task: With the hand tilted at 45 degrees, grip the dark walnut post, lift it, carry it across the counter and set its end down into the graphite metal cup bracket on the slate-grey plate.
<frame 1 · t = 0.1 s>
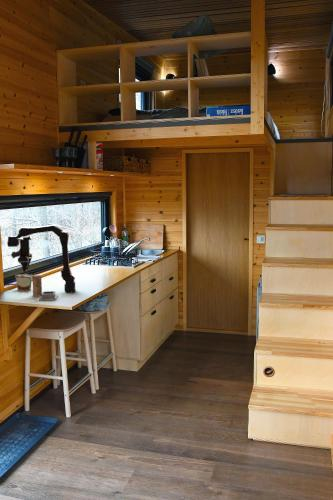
hand: (25, 270, 319), 15 cm above the table, tool pointing down, fingers open, 9 cm apart
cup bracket: (48, 298, 305), on the table
food container: (26, 289, 331), on the table
walnut post: (37, 295, 313), on the table
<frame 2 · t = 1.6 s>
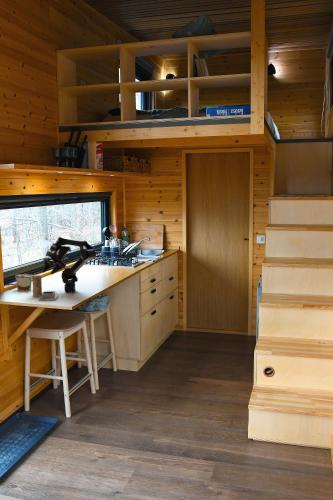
hand: (46, 273, 317), 13 cm above the table, tool tilted 45°, fingers open, 9 cm apart
nothing on the table moved.
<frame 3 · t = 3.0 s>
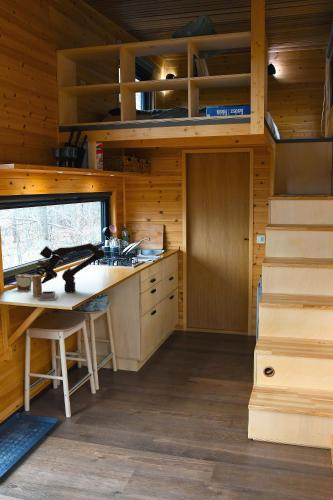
hand: (38, 282, 313), 8 cm above the table, tool tilted 45°, fingers open, 9 cm apart
nothing on the table moved.
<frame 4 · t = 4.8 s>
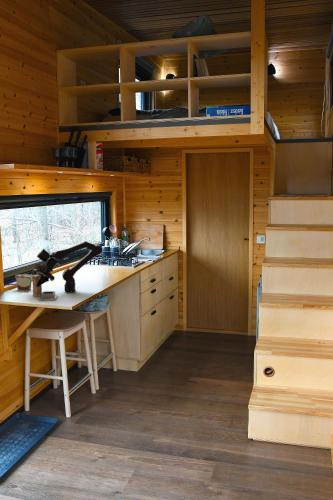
hand: (35, 285, 311), 7 cm above the table, tool tilted 45°, fingers closed on walnut post, 4 cm apart
walnut post: (37, 295, 313), on the table, touching gripper
everything else where it was.
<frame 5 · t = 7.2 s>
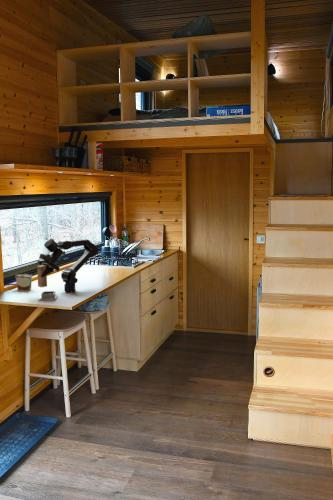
hand: (40, 276, 307), 13 cm above the table, tool tilted 45°, fingers closed on walnut post, 4 cm apart
walnut post: (42, 286, 308), point 7 cm above the table, touching gripper
everything else where it was.
when the fingers open (9 cm above the table, at t = 9.5 s): walnut post stays where it is, resting on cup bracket.
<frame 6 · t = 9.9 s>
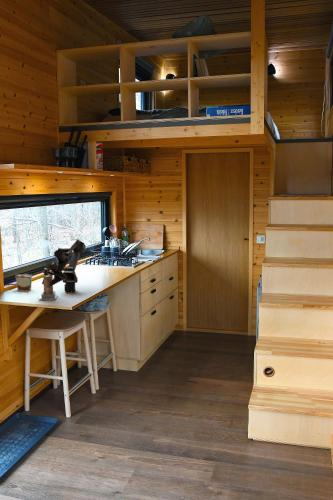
hand: (46, 285, 303), 9 cm above the table, tool tilted 45°, fingers open, 8 cm apart
walnut post: (48, 296, 305), point 1 cm above the table, touching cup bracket
everything else where it was.
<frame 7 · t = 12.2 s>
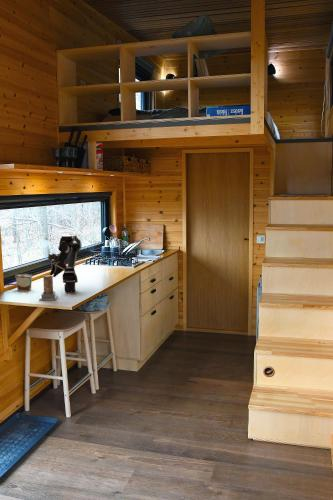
hand: (52, 276, 310), 13 cm above the table, tool tilted 30°, fingers open, 9 cm apart
nothing on the table moved.
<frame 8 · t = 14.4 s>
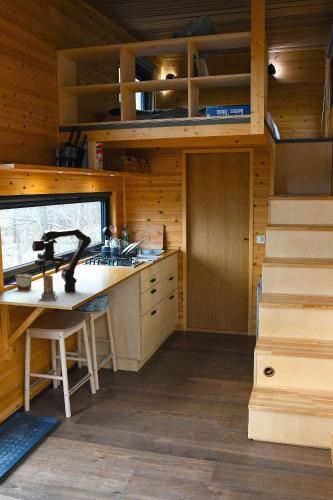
hand: (50, 274, 315), 13 cm above the table, tool pointing down, fingers open, 9 cm apart
nothing on the table moved.
at the end: walnut post 0.0 cm off-centre on the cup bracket, point 1.2 cm above the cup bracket's base; walnut post tilted 0°; the gripper is holding nothing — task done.
